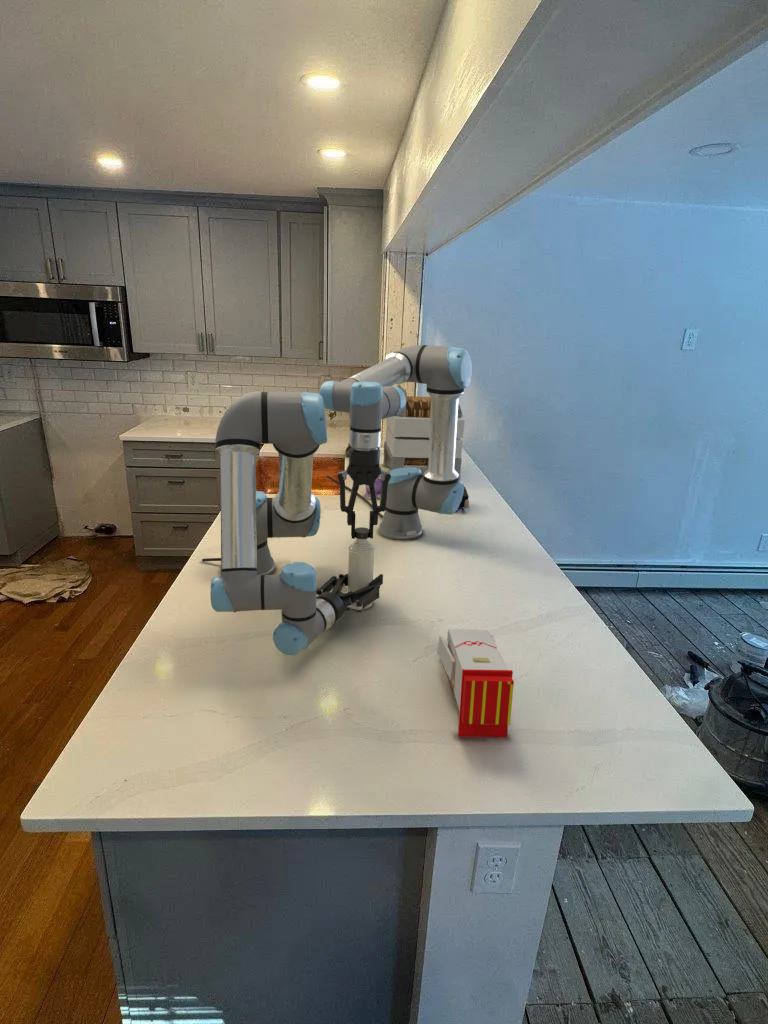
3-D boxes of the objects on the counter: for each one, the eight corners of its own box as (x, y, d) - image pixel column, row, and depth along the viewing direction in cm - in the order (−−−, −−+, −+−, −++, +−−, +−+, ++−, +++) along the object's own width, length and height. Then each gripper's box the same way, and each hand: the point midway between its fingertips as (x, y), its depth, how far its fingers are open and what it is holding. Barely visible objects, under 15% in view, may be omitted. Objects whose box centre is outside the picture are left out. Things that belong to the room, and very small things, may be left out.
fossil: (345, 440, 315) (366, 425, 310) (356, 453, 318) (377, 439, 313) (338, 454, 296) (361, 438, 291) (350, 468, 298) (372, 452, 293)
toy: (488, 613, 130) (523, 677, 101) (484, 667, 133) (517, 744, 104) (435, 612, 130) (455, 676, 101) (432, 666, 133) (451, 743, 103)
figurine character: (469, 517, 223) (463, 501, 236) (471, 500, 219) (465, 484, 233) (452, 516, 222) (447, 500, 236) (454, 499, 219) (449, 483, 232)
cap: (365, 540, 143) (365, 534, 142) (351, 537, 144) (351, 531, 144) (372, 535, 146) (372, 529, 146) (358, 532, 148) (358, 526, 147)
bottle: (375, 599, 154) (378, 530, 147) (367, 611, 148) (369, 539, 141) (352, 595, 156) (354, 526, 149) (343, 606, 150) (345, 535, 143)
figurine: (370, 501, 232) (371, 465, 226) (359, 493, 240) (360, 459, 235) (390, 498, 236) (392, 463, 231) (379, 491, 244) (380, 457, 239)
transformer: (382, 463, 289) (386, 382, 275) (445, 464, 293) (451, 384, 279) (390, 482, 257) (394, 392, 243) (460, 483, 261) (468, 394, 247)
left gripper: (289, 614, 140) (338, 579, 160) (358, 637, 132) (401, 597, 151) (289, 587, 138) (338, 554, 157) (359, 609, 129) (402, 571, 149)
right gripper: (330, 450, 133) (329, 542, 141) (401, 451, 135) (396, 541, 143) (329, 443, 140) (328, 531, 148) (397, 444, 142) (392, 530, 150)
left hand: (369, 575), depth 154 cm, fingers closed on bottle, 7 cm apart
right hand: (361, 536), depth 145 cm, fingers closed on cap, 4 cm apart
